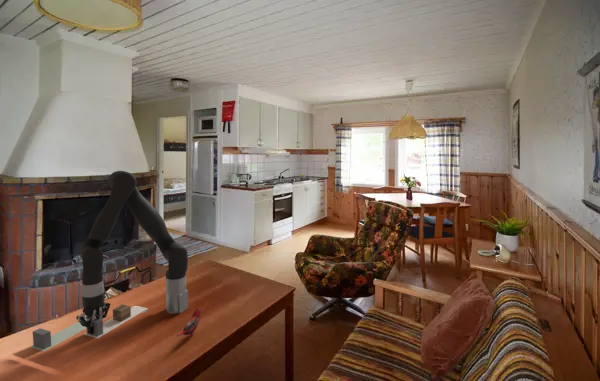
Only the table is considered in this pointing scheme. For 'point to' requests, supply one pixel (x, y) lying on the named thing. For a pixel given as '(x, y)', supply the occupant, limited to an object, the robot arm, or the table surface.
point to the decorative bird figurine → (191, 324)
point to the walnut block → (121, 313)
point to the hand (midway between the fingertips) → (95, 331)
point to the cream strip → (112, 323)
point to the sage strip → (54, 336)
